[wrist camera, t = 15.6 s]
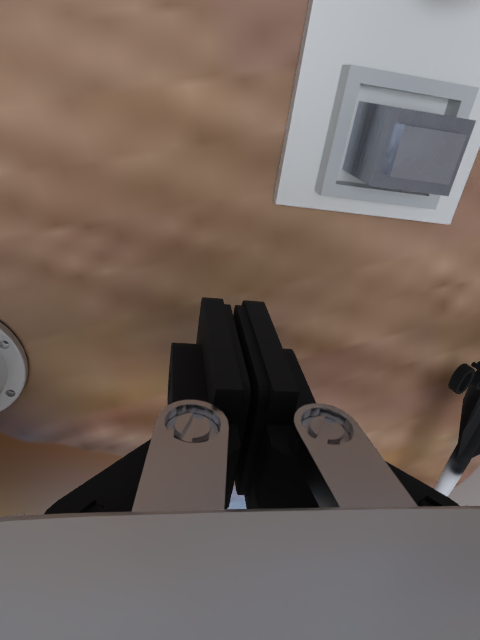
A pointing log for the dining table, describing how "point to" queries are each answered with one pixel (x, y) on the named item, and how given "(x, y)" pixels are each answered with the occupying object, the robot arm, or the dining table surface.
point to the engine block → (406, 148)
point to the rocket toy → (463, 427)
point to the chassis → (377, 97)
